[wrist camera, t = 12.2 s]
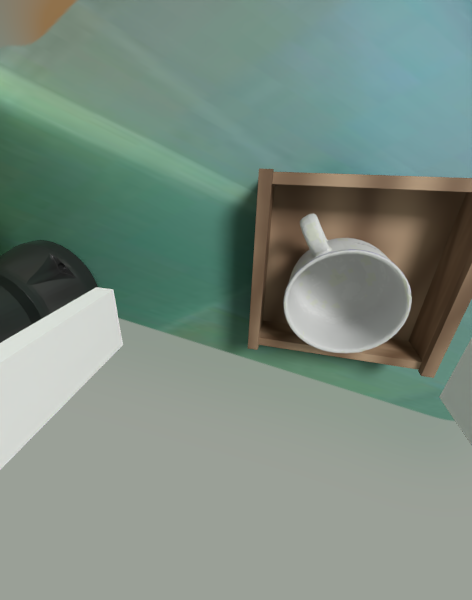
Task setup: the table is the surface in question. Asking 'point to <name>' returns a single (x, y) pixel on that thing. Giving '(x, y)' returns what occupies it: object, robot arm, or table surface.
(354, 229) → the crate
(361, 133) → the table surface
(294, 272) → the teacup
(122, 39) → the table surface
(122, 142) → the table surface
